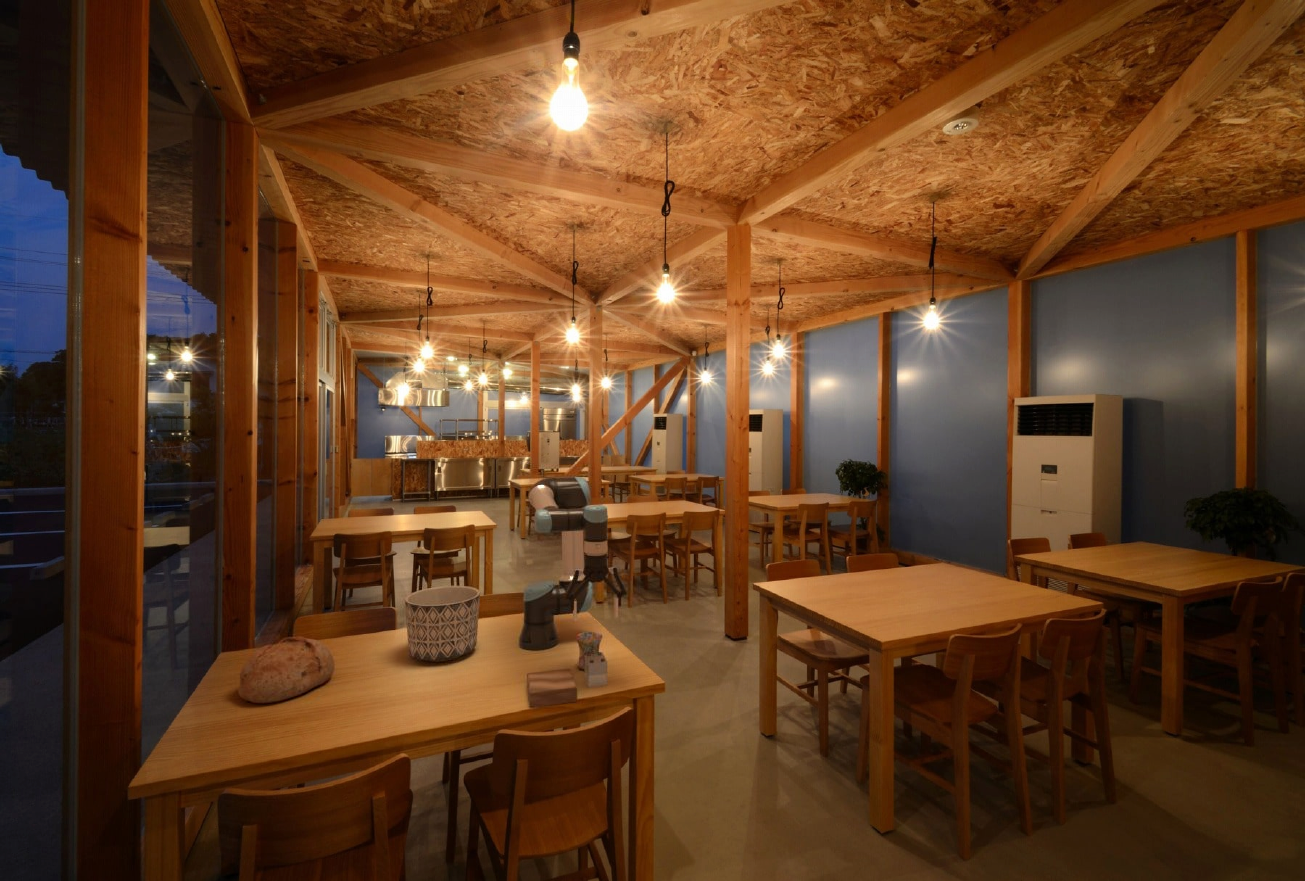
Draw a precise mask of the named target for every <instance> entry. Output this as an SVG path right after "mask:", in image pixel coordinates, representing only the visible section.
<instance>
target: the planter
mask: <svg viewBox="0 0 1305 881" xmlns="http://www.w3.org/2000/svg"><path fill="white" fill-rule="evenodd" d="M480 595H481V592H480V590H479V589H478V588H475V587H473V586H467V585H444V586H435V587H430V588H429V587H428V588H424V589H420V590H416V591H414V592H411V593H410V594H408V595H406V596H405V597H404V602H405V603H404V604H405V605H404V606H405V617H406V620H405V621H406V631H407V632H406V634H407V646H408V647H407V649H408V654H409V655H410V656H411V657H412V658H413V659H417V660H419V661H420V660H422V661H427V662H430V663H431V662H433V663H439V662H448V661H452V660H455V659H457V658H460V657H461V656H464V655H466V654H468V653H471V651H473V650H474V649H475V648H476V647H477V643H478V631H479V630H478V629H479V628H478V627H479V612H480V599H481V596H480Z"/></svg>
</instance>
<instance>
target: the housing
mask: <svg viewBox="0 0 1305 881" xmlns="http://www.w3.org/2000/svg"><path fill="white" fill-rule="evenodd" d="M584 681H585V683H586V684H587V687H588V689H592V688H600V687H607V686H608V660H607V659H606V657H605V654H604V652H603V651H602V652H601V651H599V652H598V653H591V654H590V653H587V654H585V669H584Z"/></svg>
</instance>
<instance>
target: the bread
mask: <svg viewBox="0 0 1305 881" xmlns="http://www.w3.org/2000/svg"><path fill="white" fill-rule="evenodd" d="M335 666H336V665H335V660H334V656H333V655H332V653H331V651H330V650H329V648H328V647H327V646H325V644H324V643H322V642H321V641H319V640H317V639H314V638H313V639H312V638H307V637H304V636H287V637H284V638H282V639H281V640H279V641H278V642H277V643H276V644H275V643H274V644H271V643H270V644H266V645H264V646H262V647H261V648H260V649H258V650H256V651H255V652H254V653H253V654H252V655H251V656H250V657H249V658H248V659H247V660H246V662H245V663H244V665H243V667H242V668H241V670H240V673H239V685H238V688H237V692H238V693H237V694H238V695H239V696H240V697H241V698H242V699H243V700H244V701H245V702H251V703H253V704H271V703H278V702H283V701H285V700H288V699H291V698H294V697H296V696H297V697H298V696H300V695H302V694H304V693H306V692H308V691H309V690H310V691H311V689H314V688H315V687H318V686H320V685H323V684H324V683H326V682H327V681H329V680H330V679H331V677H332V676H333V674H334V671H335Z"/></svg>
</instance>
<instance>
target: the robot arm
mask: <svg viewBox="0 0 1305 881" xmlns="http://www.w3.org/2000/svg"><path fill="white" fill-rule="evenodd" d="M527 497H528V501H529V503H530V505H531V506H532V508H534V510H535V512H534V517H533V518H534V530H535V532H537V533H545V534H546V533H559V532H560V533H561V555H562V557H561V559H562V560H561V562H562V575H561V576H560V578H558V584H555V583H554V581H553V580H540V581H535V582H533V583H530V584H528V585H527V586H526V587H525V588H524V590H523V598H522V600H523V626H522V629H521V632H520V635H519V637H518V638H519V639H518V645H519V647H520V648H522V649H524V650H529V651H540V650H541V651H542V650H548V649H551V648H554V647H555V646H557V645H558V644H559V634H558V631H557V627H556V624H555V616H561V615H571V614H572V619H573V622H574V623H575V622H577V614H581V613H586V612H588V611H589V610H590V609H591V607H592V604H593V596H594V594H593V593H594V590H593V583H602V582H603V581H604V583H605V584H606V585H607V586H608V587H609V588H610V589H611V590H612V592H613V593H614V594H615V595H613V616H614V617H615V618H616V619H618V618H619V608H620V607H621V606H622V598H623V596H626V595H627V594H628V592H627V590H626V588H625V586H624V584H623V582H622V580H621V578H620V576H619V575H618V568H617V567H616V566H614V565H613V566H612V567H608V554H607V552H608V524H609V523H608V518H609V515H608V507H607V506H606V505H601V504H591V491H590V486H589V484H588V481H587V479H586V478H585V477H582V476H581V477H578V476H570V477H568V476H567V477H566V476H565V477H564V476H563V477H546V478H545V477H544V478H543V479H539V480H538V481H536V482H535V483H534V484H532V486H531V487H530V488H529V491H528V495H527ZM590 504H591V505H590ZM609 573H610V574H611V575H612V576H613V577H614V580H615V581H616V584H617V585H618V588H619V590H620V591H619V590H618V589H617V588H616V586H615V585H614V584H613V583H612V582H611V581H610V580H609V579H608V578H607V575H608V574H609Z"/></svg>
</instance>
